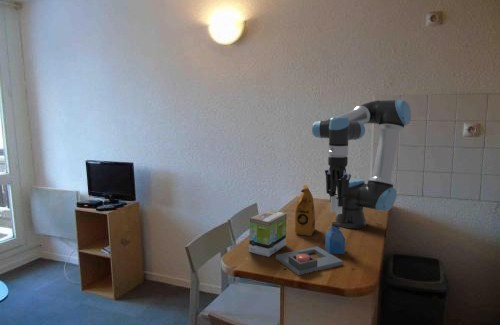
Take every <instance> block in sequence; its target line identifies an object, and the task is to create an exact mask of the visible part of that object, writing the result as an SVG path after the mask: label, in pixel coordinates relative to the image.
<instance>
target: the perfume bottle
mask: <svg viewBox="0 0 500 325" xmlns="http://www.w3.org/2000/svg"><path fill="white" fill-rule="evenodd" d="M339 224H340V223H338V222H336V221H332V222H331V225H330V228H331V229H328V230H327V232H326V233H325V237H324V238H325V243H324V248H325V249H326V250H325V251H326V252H328V253H330V254H332V255H337V254H339V255H341V254H342V255H343V254H345V252H346V251H345V248H346V238H345V236H344V234H343V232H342V231H341V230H340V229H341V228H340V227H341V226H339Z"/></svg>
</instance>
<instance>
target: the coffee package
mask: <svg viewBox="0 0 500 325" xmlns="http://www.w3.org/2000/svg"><path fill="white" fill-rule="evenodd" d="M302 188H303V189H301V191H300V192H301V194H299V197H298V199H297V202H296V205H295V211H294V232H295V234H296V235H301V236H307V237H309V236H310V237H311V236H312V235H313V233H314V232H315V230H316V215H315V214H316V212H315V204H314V198H313V194H312V193H311V190H310V189H309V186H308V185H307V184H304V185H303V186H302Z"/></svg>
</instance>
